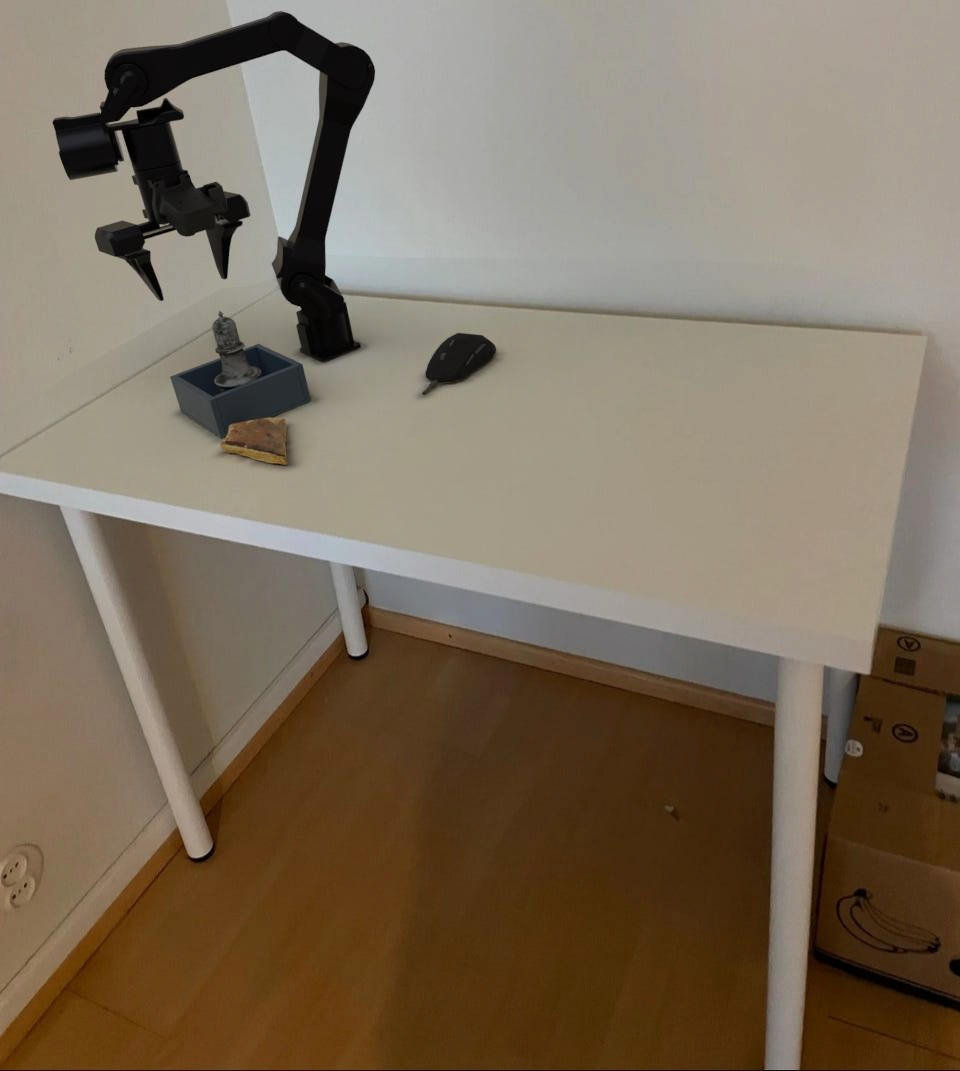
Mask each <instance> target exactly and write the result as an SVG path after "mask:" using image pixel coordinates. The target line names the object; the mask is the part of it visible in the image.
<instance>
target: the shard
mask: <svg viewBox="0 0 960 1071" xmlns="http://www.w3.org/2000/svg"><path fill="white" fill-rule="evenodd" d="M286 442H287V424H286V419H285V418H283V417H268V418H260V419H256V420H250V421H244V422H238V423H234V424H231V425H230V426H229V430H228V434H227V436H226V437H224V439H223V441H221V442H220V445H219V446H220V448H221V449H222V451H224V452H226V453H227V454H237V455H240V456H242V457H247V458H250V459H252V460H255V461H260V462H264V463H266V464H279V465H284V466H285V465H287V464H288V462H287V452H286Z"/></svg>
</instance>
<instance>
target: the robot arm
mask: <svg viewBox="0 0 960 1071" xmlns="http://www.w3.org/2000/svg"><path fill="white" fill-rule="evenodd" d="M279 52H287V53H289V54H290V55H292V56H294V57H296V58H297V59H299V60H301V61H302V62H303V63H305V64H307V65H309V66H310V67H312V68H314V69H315V70H317V71H318V72H319V78H318V79H319V80H318V123H317V126H316V130H315V136H314V139H313V145H312V148H311V150H312V151H311V154H310V158H309V162H308V167H307V171H306V175H305V176H306V177H305V181H304V185H303V190H302V194H301V195H302V196H301V199H300V204H299V209H298V212H297V217H296V223H295V226H294V228H293V230H292V232H291V234H290V235H289V237H288V239H286V238H284V237H283V236H278V237H277V242H276V244H277V245H276V254H275V257H274V259H273V260H272V262H271V266H272V269H273V272H274V275H275V278H276V281H277V282H276V283H277V285H278V287H279V290H280V292H281V294H282V296H283V297H284V299H285V300H286V301H287V302H288V303H290V304H291V305H293V306H295V307H299V308H300V310H297V311H295V314H296V318H297V322H298V323H296V326H295V328H296V332H297V335H298V339H299V343H300V344H299V345H300V347H299V352H300V353H301V354H304V355H306V356H308V357H310V358H313V359H315V360H317V361H320V362H326V361H328V360H331V359H333V358H336V357H338V356H341V355H344V354H347V353H349V352H351V351H354V350H356V349H359V348H361V346H362V345H361V342H359V341H357V340H355V339H354V335H353V330H352V324H351V319H350V316H349V310H348V305H347V302H346V301H345V298H344V295H343V293H342V292H341V290H340V289H339V287H338V285H337V283H336V281H335V280H334V279H333V278H331V277H329V276H328V275H326V266H327V260H326V259H327V258H326V256H327V254H326V239H327V233H328V230H329V224H330V220H331V216H332V211H333V208H334V203H335V199H336V194H337V191H338V187H339V183H340V182H339V181H340V177H341V174H342V170H343V164H344V161H345V157H346V152H347V148H348V143H349V139H350V135H351V131H352V129H353V127H354V125H355V124H356V121H357V119H358V118H359V116H360V114H361V112H362V110H363V108H364V107H365V104H366V102H367V100H368V97H369V95H370V92H371V90H372V88H373V86H374V83H375V78H376V67H375V64H374V62H373V60H372V58H371V56H370V54H368V53H367V51H365V50H364V49H362V48H361V47H359V46H356V45H354V44H352V43H349V42H344V41H341V42H333V41H332V40H330V39H328V38H327V37H325V36H324V35H322V34H320V33H318V32H317V31H315V29H314V30H313V29H312V28H310V27H309V26H307V25H305V24H303V23H302V22H300V21H299V20H298V19H297V17H296V16H295V15H293V14H291V13H289V12H286V11H283V10H279V11H273V12H272V13H270V14H269V15H267V16H265V17H263V18H259V19H255V20H252V21H249V22H246V23H245V22H244V23H243V24H239V25H235V26H232V27H229V28H226V29H224V30H220V31H217V32H213V33H210V34H206V35H203V36H201V37H196V38H194V39H193V38H192V39H191V40H187V41H184V42H181V43H173V44H164V45H163V44H162V45H161V44H160V45H148V46H147V45H146V46H138V47H137V46H136V47H128V48H121V49H119V50H117V51H116V52H114V53H113V54H111V56H110V57H109V58H108V61H107V63H106V66H105V69H104V83H105V87H106V89H107V90H108V91H107V95H106V98H105V100H104V101H101V102H100V105H99V110H100V112H99V111H98V112H93V113H88V114H82V115H77V116H76V115H75V116H58V117H54V118H53V120H52V126H53V128H54V131H55V132H54V133H55V138H56V142H57V146H58V149H59V150H58V156H59V158H60V161H61V164H62V167H63V170H64V172H65V174H66V176H67V178H68V180H69V181H75V180H80V179H85V178H90V177H95V176H101V175H107V174H113V173H118V172H119V169H118V166H119V164H120V163H122V162H125V156H124V151H123V149H122V144H121V142H120V141H121V140H120V138H119V135H118V133H117V132H119V131H120V132H121V134H122V137H123V138H122V139H123V141H124V145H125V147H126V150H127V154H128V158H129V161H130V163H131V167H132V170H133V174H134V175H131V179H132V182H133V185H135V186H138V190H139V194H140V197H141V199H142V202H143V207H144V209H142V210H141V211H142V215H143V217H144V219H146V220H148V221H144V222H142V223H138V224H136V223H133V222H129V221H126V220H119V221H116V222H112V223H109V224H105V225H103V226H98V227H97V228H96V230H95V232H94V240H95V243H96V246H97V250H98V252H100V253H103V254H106V255H109V256H112V257H114V258H118V259H120V260H121V259H122V260H124V261H125V262H126V264H128V265H129V266H130V267H131V268H132V269H133V270H134V271H135V273H136V274H137V275H138V276H139V278H140V279H141V280H142V282H143V283H144V284H145V285H146V287H148V289H149V291H150V292H151V293H152V294H153V295H154V297H155V298H156V299H157V300H158V301H159V302H163V301H165V299H164V295H163V290H162V288H161V285H160V282H159V280H158V277H157V274H156V272H155V269H154V266H153V263H152V261H151V259H152V258H151V257H152V256H151V255H152V254H151V250H148V249H146V248H144V245H145V243H146V240H147V239H152V238H154V237H158V236H161V235H164V234H168V233H171V232H174V231H177V234H179V235H180V236H181V237H186V238H187V237H193V236H195V235H196V234H198V233H201V232H204V231H205V233H206V236H207V239H208V240H207V241H208V243H209V246H210V250H211V254H212V257H213V260H214V265H215V267H216V269H217V271H218V274H219V276H220V278H221V280H227V279H228V274H229V263H230V250H231V243H232V240H233V235H234V234H235V232H236V231H237V229H238V228H240V227H242V226H243V223H244V221H243V220H244V219H247V218H250V217H251V216H252V215H251V211H250V206H249V203H248V201H247V199H246V198H245V197H244V196H243V195H242V194H240V193H235V192H230V191H226V190H224V188H223V186H222V185H221V184H220V183H219V182H218V181H213V182H209V183H206V184H203V185H202V186H200V187H196V186H195V184H194V183H193V181H192V178H191V175H190V174H189V170H188V169H184V168H183V165H182V161H181V157H180V154H179V150H178V146H177V143H176V139H175V136H174V132H173V128H172V124H171V122H177V121H181V120H184V119H185V114H184V111H183V109H181V108H179V107H177V106H176V105H174V104H173V103H172V102H171V101H170V100H169V99H168V98H167V97H164V98H163V99H162V102H161V104H160V105H159V106H155V107H154V106H153V107H149V108H148V107H147V108H143V109H137V110H136V111H135V112H136V117H137V118H133V119H130V120H125V121H120V120H122V119H123V118H124V116H125V115H126V114H127V113H128V112H129V111H130V109H131V108H140V107H145V106H146V105H148V104H150V103H152V102H154V101H155V100H157V99H159V98H161V97H163V96H165V95H167V94H168V93H170V92H171V91H173V90H175V89H177V88H178V87H179V86H181V85H183V84H185V83H186V82H188V81H191V80H192V79H195V78H198V77H202V76H205V75H208V74H211V73H215V72H217V71H221V70H224V69H227V68H231V67H233V66H236V65H240V64H243V63H247V62H250V61H253V60H255V59H259V58H263V57H265V56H268V55H272V54H276V53H279ZM119 121H120V122H119ZM161 225H162V226H161Z"/></svg>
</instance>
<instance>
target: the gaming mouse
mask: <svg viewBox="0 0 960 1071" xmlns="http://www.w3.org/2000/svg"><path fill="white" fill-rule="evenodd" d="M496 354H497V347H496V344H494V342H492V341H491V340H490V339H489V338H487V336H484V335H483V334H475V333H466V332H456V333H455V334H452V335H451V336H449V337H447V338H446V339H445V340H444V341H443V342H442V343H440V345H439V346H438V347H437V348H436V350H435V352H433V354H432V355H431V357H430V359H429V360H428V361H429V362H428V363H427V366H426V369H425V379H427V380H428V381H429V380H430V381H431V382H430V383H429V384H428V386H427V387H426V388H425V389H424V390H423V391H422V392H421V394H422V395H423V396H425V395H426V394H427V393H429V392H430V390H432V389H434V388H435V387H436V386H437V385H438V383H441V384H446V383H457V382H460V381H462V380H465V379H466V378H468V377H470V376H471V375H472V374H473V373H475V372H477V371H478V370H479V369H480V368H482V367H484V366H486V365H487V364H488V363H489V362H491V361H492V360H493V358H494V357H495V355H496Z"/></svg>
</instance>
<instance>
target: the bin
mask: <svg viewBox="0 0 960 1071" xmlns="http://www.w3.org/2000/svg"><path fill="white" fill-rule="evenodd" d="M243 351H244V354H245V358H246V360H247V362H248V364H249V366H252V367H257V368H259V369H260V370H261V372H262V373H261V376H260V378H259V379H256V380H254V381H251V382H249V383H246V384H244V385H241V386H238V387H236V388H233V389H231V390H228V391H226V392H223V393H222V392H221V390H220V389H219V386H217V385H216V384H215V381H214V380H215V378H216V377H217V376H218V375H219V374H221V373H222V363H221V359H220V357H219V358H215V359H213V360H210V361H208V362H205V363H202V364H199V365H197V366H195V367H194V366H193V367H192V368H189V369H186V370H184V371H181V372H179V373H175V374H172V375H170V376H169V378H170V379H169V380H170V381H171V384H172V387H173V391H174V393H175V398H176V400H177V403H178V407H179V409H180V413H182V414H183V415H184V416H186V417H188V418H189V419H190V420H192V421H194V422H195V423H196V424H199V425H200V426H202V427H203V428H204V429H206V430H207V431H209V432H211V433H212V434H214V435H215V436H216V437H218V438H220V439H224V438H226V436H227V434H228V430H229V426H230V425H231V424H234V423H238V422H244V421H250V420H256V419H260V418H268V417H271V418H275V417H276V416H278V415H281V414H284V413H286V412H288V411H290V410H293V409H295V408H298V407H300V406H302V405H305V404H308V403H310V402H312V397H311V394H310V390H309V385H308V381H307V377H306V374H305V368H304V365H303V363H301V362H299V361H297V360H295V359H293V358H291V357H288V356H286V355H284V354H282V353H279V352H277V351H275V350H273V349H271V348H269V347H267V346H265V345H262V344H260V343H256V344H254V345H251V346H247V347H246V348H243Z"/></svg>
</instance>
